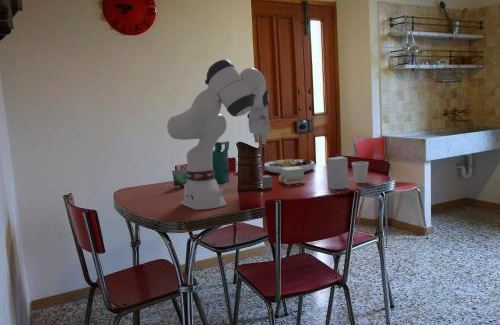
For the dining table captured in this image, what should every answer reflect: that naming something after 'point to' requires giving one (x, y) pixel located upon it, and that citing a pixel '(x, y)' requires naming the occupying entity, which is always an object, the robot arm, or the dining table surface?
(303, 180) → the tower base
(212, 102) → the robot arm
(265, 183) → the grey block
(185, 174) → the food container
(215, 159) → the teal gas canister
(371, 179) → the dining table surface
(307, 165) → the bowl
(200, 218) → the dining table surface
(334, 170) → the skincare box
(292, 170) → the tower top
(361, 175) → the dixie cup
